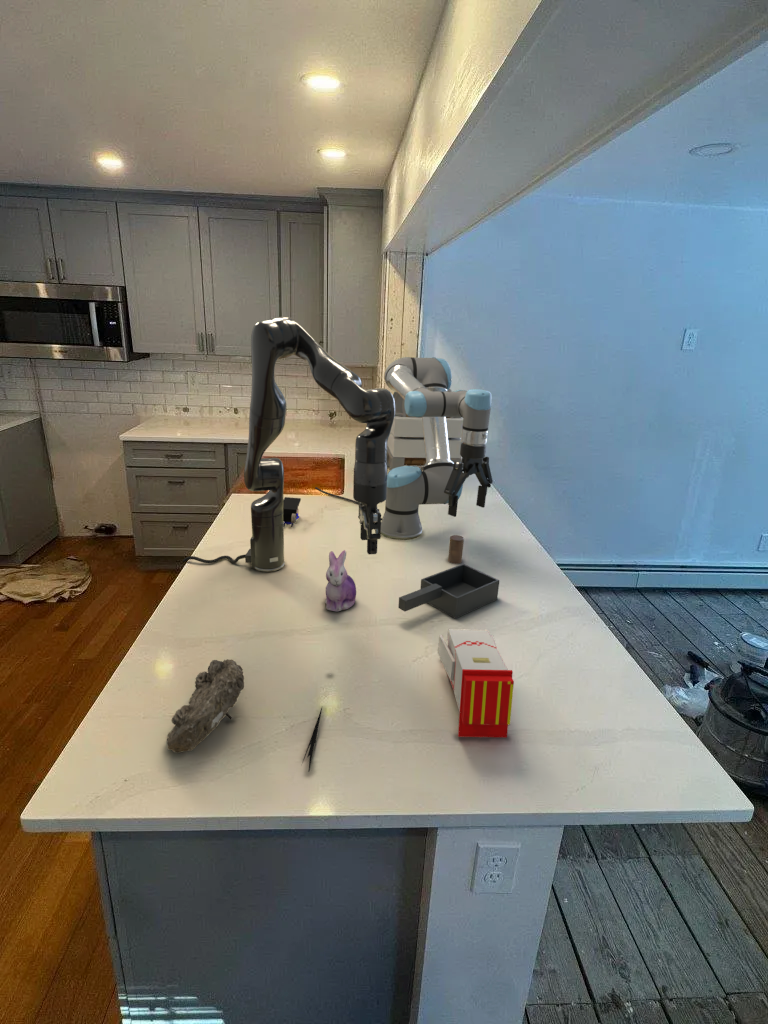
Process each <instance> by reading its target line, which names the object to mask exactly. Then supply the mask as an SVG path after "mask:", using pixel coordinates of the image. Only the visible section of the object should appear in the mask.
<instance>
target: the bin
mask: <svg viewBox="0 0 768 1024" xmlns="http://www.w3.org/2000/svg"><path fill="white" fill-rule="evenodd" d="M500 582H501V581H500V579H498V578H496V577H493V576H491V575H489V574H487V573H485V572H483V571H481V570H479V569H476V568H474V567H472V566H470V565H467V564H465V563H462V564H461V563H460V564H458V565H456V566H453V567H450V568H448V569H445V570H442V571H439V572H437V573H434V574H431V575H429V576H426V577H423V578H421V579H420V588H419V589H417V590H415V591H412V592H410V593H407V594H405V595H402V596H399V597H398V609H400V610H401V611H403V612H404V613H406V612H407V611H410V610H413V609H416V608H417V607H420V606H422V605H425V604H428V605H429V606H432V607H433V608H435V609H437V610H438V611H440V612H442V613H444V614H446V615H448V616H449V617H451V618H453V619H458V618H459V617H462V616H464V615H466V614H469V613H471V612H473V611H475V610H477V609H480V608H482V607H484V606H486V605H488V604H490V603H491V604H492V603H493V602H495V601H497V600H498V595H499V589H500Z"/></svg>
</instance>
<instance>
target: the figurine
mask: <svg viewBox="0 0 768 1024" xmlns="http://www.w3.org/2000/svg"><path fill="white" fill-rule="evenodd" d="M346 558H347V551H346V550H345V549H343V550H342V551H341V552H340V554H339V555H338V557H337V556H336V555H335V552H334V551H332V550H331V551H330V552H329V553H328V564H329V566H328V568H327V570H326V573H325V578H326V581H327V584H326V585H325V601H324V602H325V605H326V606H325V608H326V610H328V611H333V612H340V611H343V610H345V611H346V610H348V609H350V608H351V607H353V606H354V605H355V603H356V600H357V599H356V598H357V586H356V582H355V581H354V579H353V577H351V576H350V575H349V574H348V571H347V568H346V566H345V561H346V560H347V559H346Z"/></svg>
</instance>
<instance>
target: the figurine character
mask: <svg viewBox="0 0 768 1024" xmlns="http://www.w3.org/2000/svg"><path fill="white" fill-rule="evenodd" d="M301 500H302V498H301V497H290V496H289V497H288V496H285V497H283V528H286V525H290V528H293V527H294V524H296V523H297V520H298V519H300V516H299V512H300V511H299V506H300V503H301Z"/></svg>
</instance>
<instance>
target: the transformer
mask: <svg viewBox="0 0 768 1024" xmlns="http://www.w3.org/2000/svg"><path fill="white" fill-rule="evenodd" d="M454 391H455V390H454ZM454 391H453V390H452V389H451V388H450V389H449V390H447V392H454ZM392 395H393V398H394V401H395V416H394V420H393V424H392V428H391V432H390V435H389V438H388V441H387V468H389V471H390V470H392V469H394V468H397V467H401V466H416V467H423V466H424V465H425V464H426V455H425V445H424V435H423V424H422V417H412V416H408V415H407V414H406V411H405V406H404V402H405V400H404V399H403V398H402V397H401V396H400V395H399V394H398V392H394V391H393V394H392ZM446 424H447V433H448V443H449V452H450V460H451V461H452V462H453V463H454V462H455V461H456V462H461V461H462V457H461V455H460V447H461V443H463V442H462V441H461V435H462V426H463V418H462V417H446Z"/></svg>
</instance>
